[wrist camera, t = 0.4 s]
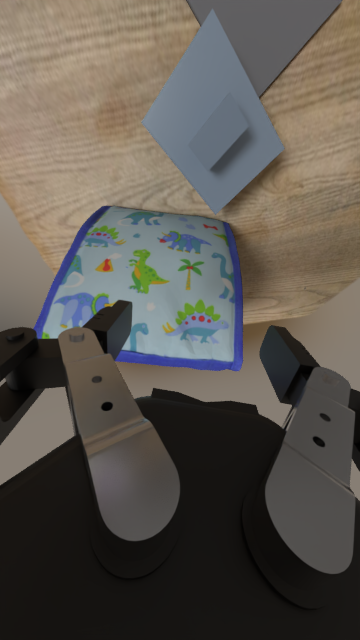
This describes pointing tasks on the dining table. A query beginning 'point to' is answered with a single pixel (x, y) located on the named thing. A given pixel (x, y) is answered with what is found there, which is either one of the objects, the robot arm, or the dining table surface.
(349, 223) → the dining table surface
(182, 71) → the lid
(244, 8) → the mat
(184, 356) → the lunch bag
